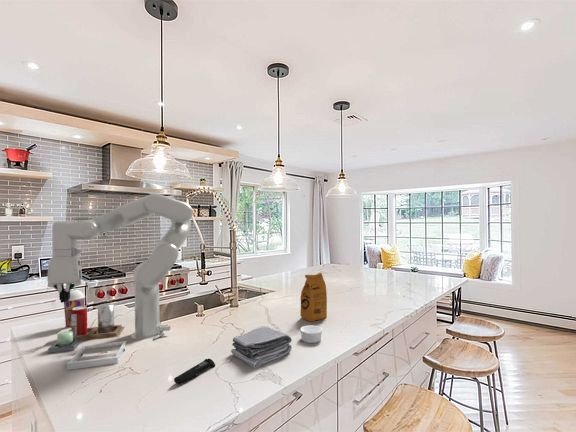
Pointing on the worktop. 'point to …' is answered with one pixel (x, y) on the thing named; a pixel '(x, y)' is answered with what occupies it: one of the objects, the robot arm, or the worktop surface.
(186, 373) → the electric trimmer
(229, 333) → the worktop surface
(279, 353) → the towel
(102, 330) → the steel billet
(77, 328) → the soda can
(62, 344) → the button
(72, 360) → the white square frame
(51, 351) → the button box
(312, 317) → the coffee package
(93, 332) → the wooden compartment tray
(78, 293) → the smoothie
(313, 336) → the ramekin
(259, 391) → the worktop surface
